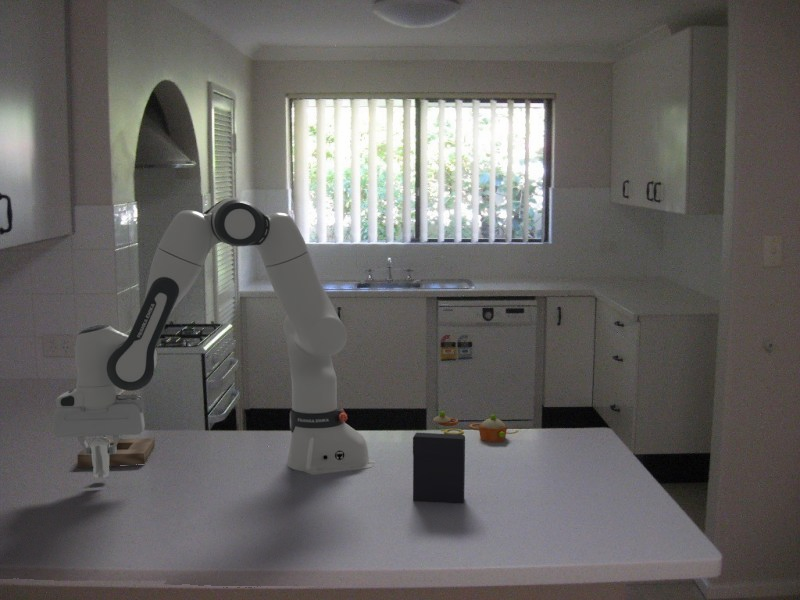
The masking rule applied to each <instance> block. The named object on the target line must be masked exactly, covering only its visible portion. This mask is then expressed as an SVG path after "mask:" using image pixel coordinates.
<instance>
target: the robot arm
mask: <svg viewBox="0 0 800 600" xmlns="http://www.w3.org/2000/svg"><path fill="white" fill-rule="evenodd" d="M221 243H223V244H226V245H230V246H232V247H250V246H254V247H255V248H256V249H257V251H258V253H259V255H260V257H261V259H262V262H263V263H262V264H263V266H264V268H265V269H266V273H267V275H268V278H269V280H270V283H271V287H272V289H273V291H274V294H275V296H276V298H277V299H278V300H279V302H280V305H281V306H282V307H283V310H284V311H285V313H286V316H285V318H284V320H283V325H282V327H283V328H282V329H283V332H284V335H285V340H286V341H285V342H286V350H287V357H288V362H289V363H288V364H289V368H290V377H291V408H290V412H289V429H290V432H291V433H290V434H291V435H290V443H289V451H288V455H287V459H286V462H285V463H286V466H287V467H289V468H290V469H292V470H295V471H300V472H305V473H307V474H309V475H313V476H314V475H315V476H316V475H321V474H322V475H323V474H331V473H339V472H347V471H358V470H365V469H371V468H372V467H373V468H374V466H375V465H376V464H377V460H373V459H372V458H370V457H369V449H368V444H367V441H366V439H365V437H364V436H363V435H362V433H360V432H359V431H358V430H356V429H355V428H353V427H351V426H350V425H349V424H347V423H346V422H347V420H348V414H347V413H346V412H345V410H344V409H343V408H342V407H341V408H340V407H338V405H337V404H338V398H337V397H338V395H337V394H338V391H337V390H338V389H337V388H338V387H337V383H338V381H337V380H338V378H337V373H336V372H335V368H334V364H333V359H332V357H333V356H335V355H337V354H339V353H340V352H341V351H342V350H343V349H344V347H346V343H347V338H348V332H347V329H346V326H345V324H344V323H343V322H342V320H341V319H340V317H339V315H338V313H337V311H336V309H335V307H334V305H333V302H332V301H331V299H330V297H329V295H328V294H327V292H326V290H325V288H324V286H323V284H322V283H321V280H320V278H319V276H318V273H317V270H316V268H315V265H314V263H313V260H312V258H311V254H310V251H309V248H308V247H307V244H306V242H305V239H304V237H303V235H302V233H301V231H300V229H299V228H298V226H297V224H296V223H295V220H294V219H293V218H292V217H291V215H290V214H288V213H286V212H280V211H278V212H277V211H276V212H271V213H268V214H264V213H263V212H262V210H260V209H259V208H258V207H256V206H255V205H254V204H253V203H251V202H250V201H248V200H247V199H244V198H241V197H229V198H224V199H222V200H220V201H218V202H217V203H215V204H214V205H213V206H211V207H209V209H207V210H206V211H204V212H199V211H197V210H191V209H187V210H186V209H185V210H182V211H180V212H178V213H176V215H175V216H174V218H173V219H172V221H171V222H170V224H169V225H168V227H167V228H166V230H165V231H164V233H163V235H162V237H161V239H160V241H159V243H158V246H157V248H156V250H155V253H154V255H153V259H152V261H151V265H150V268H149V273H148V279H147V284H146V291H145V296H144V299H143V303H142V306H141V308H140V310H139V312H138V313H137V314H138V315H137V316H136V318H135V322H134V324H133V325H132V328H131V330H130V332H129V334H126V333H123V332H121V331H119V330H117V329H115V328H114V327H113V326H111V325H109V324H99V325H94V326H91V327H88V328H84V329H83V330H81V331H79V333H78V334H77V336H76V338H75V345H74V348H75V349H74V355H75V356H74V357H75V358H74V359H75V360H74V361H75V368H76V371H77V379H76V388H74V389H72V390H68V391H65V392H63V393H62V394H60V395H59V396H57V397H56V399H55V405H56V407H57V408H56V409H55V410H54V412H53V415H52V423H51V424H52V434H53V435H54V436H55V438H73V437H74V438H77V441H78V443H79V444H80V446H81V447H82V449H83V448H84V455H91V450H90V446H88V443H87V438H88V437H103V436H105V437H107V436H108V437H109V436H112V439H113V440H115V439H116V440H115V442H114V444H113V445H110V447H108V448H109V454H116V453H117V444H118V442H119V440H120V439H122V436H130V435H131V436H135V435H136V436H137V435H140V434H142V433H143V432H144V430H145V427H146V425H145V417H144V410H145V400H144V399H143V398H142V396H140V395H138V394H118V389H120V390H124V391H130V392H132V391H138V390H141V389H143V388H144V387H146V386H147V385H149V383H150V382H151V380H152V379H153V376H154V374H155V373H154V372H155V368H156V366H157V364H158V360H159V356H158V355H159V354H158V351H157V345H158V343H159V340H160V338H161V336H162V334H163V331H164V329H165V326H166V325H167V322H168V320H169V317H170V315H171V314H172V313H173V311H174V310H175V308H176V306H178V305H179V303H180V302H181V301H182V300H183V298H184V297H185V296H186V295H187V294H188V292H189V291H190V289H191V288H192V287H193V285H194V284H195V282H196V280H197V279H198V277H199V275H200V273H201V271H202V269H203V267H204V265H205V262H206V260H207V258H208V255H209V253H210V252H211V251H212V249H213V248H214V247H216V245H218V244H221Z"/></svg>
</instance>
